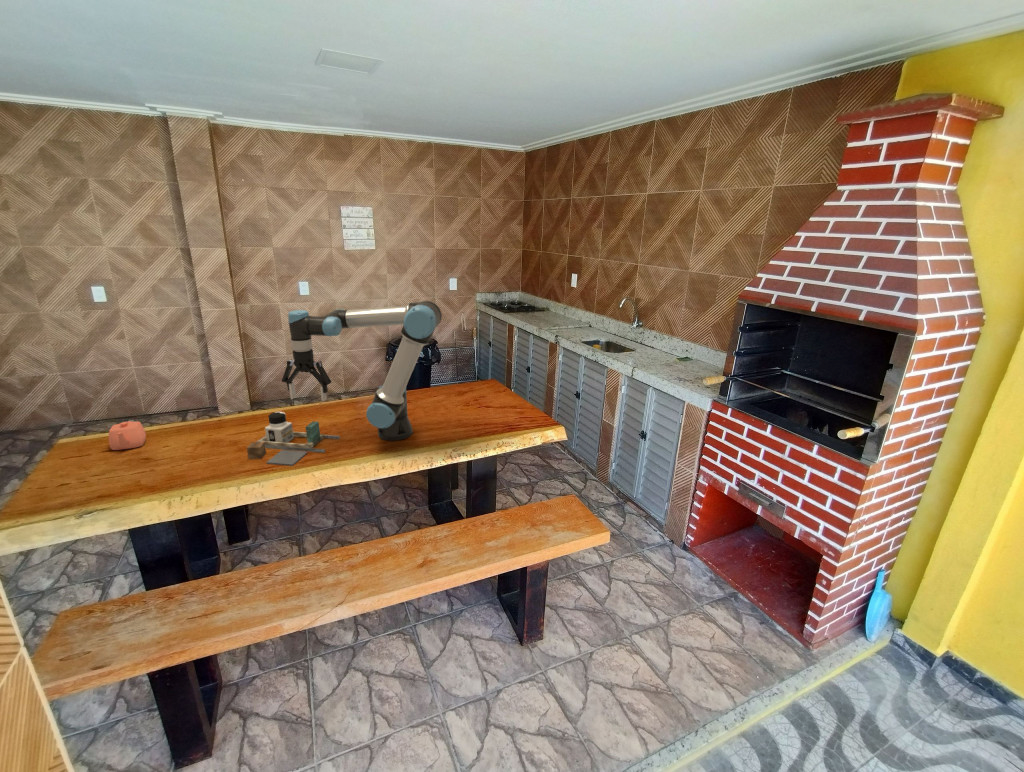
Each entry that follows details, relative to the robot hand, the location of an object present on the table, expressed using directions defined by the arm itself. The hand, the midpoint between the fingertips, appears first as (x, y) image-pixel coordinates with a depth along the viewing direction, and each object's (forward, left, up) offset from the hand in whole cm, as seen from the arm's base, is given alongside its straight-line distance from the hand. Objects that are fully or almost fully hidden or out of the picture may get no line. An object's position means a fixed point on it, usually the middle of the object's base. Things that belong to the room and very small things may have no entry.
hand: (308, 399), depth 203 cm
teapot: (+74, +15, -21) cm, 78 cm away
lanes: (+7, 0, -20) cm, 22 cm away
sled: (+10, 0, -20) cm, 23 cm away
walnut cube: (+17, +14, -21) cm, 30 cm away
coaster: (+4, +14, -20) cm, 25 cm away
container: (+15, 0, -21) cm, 26 cm away
